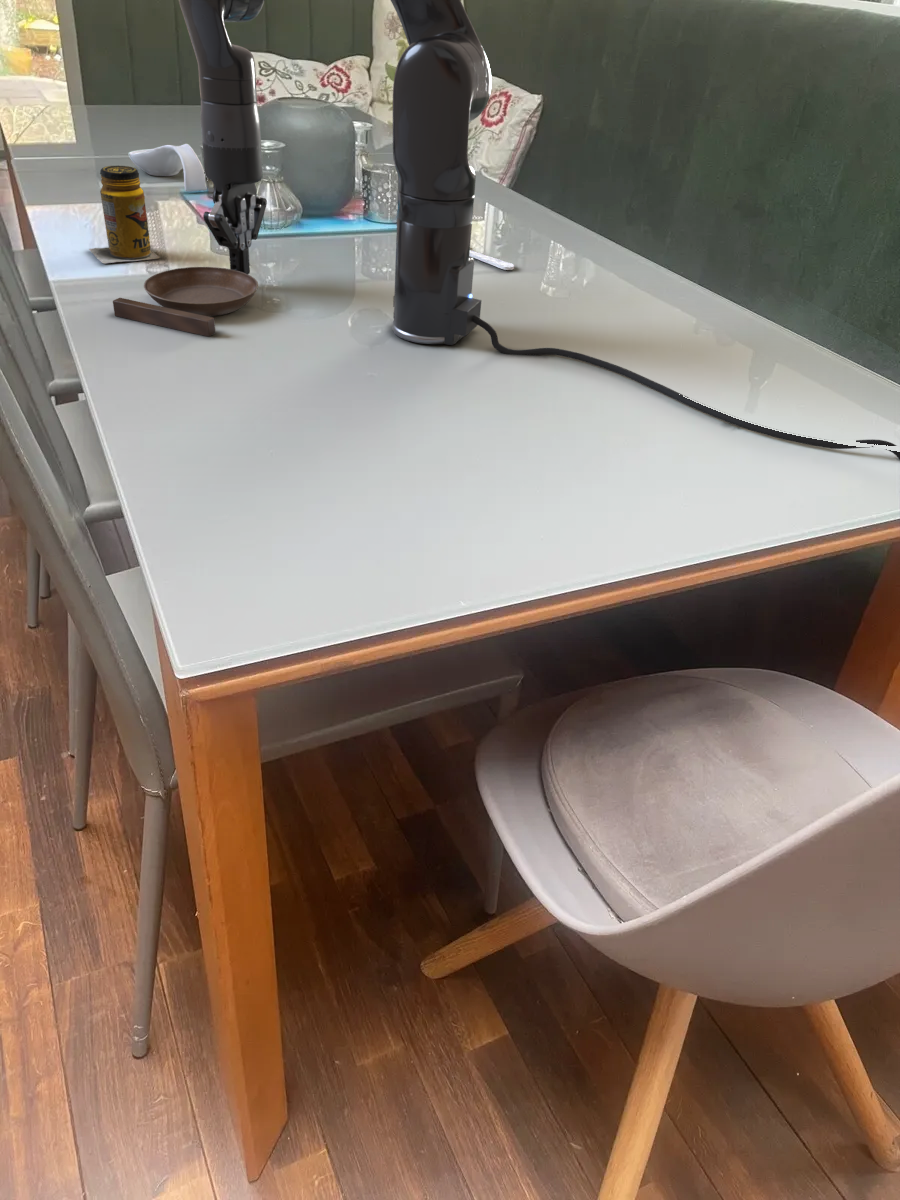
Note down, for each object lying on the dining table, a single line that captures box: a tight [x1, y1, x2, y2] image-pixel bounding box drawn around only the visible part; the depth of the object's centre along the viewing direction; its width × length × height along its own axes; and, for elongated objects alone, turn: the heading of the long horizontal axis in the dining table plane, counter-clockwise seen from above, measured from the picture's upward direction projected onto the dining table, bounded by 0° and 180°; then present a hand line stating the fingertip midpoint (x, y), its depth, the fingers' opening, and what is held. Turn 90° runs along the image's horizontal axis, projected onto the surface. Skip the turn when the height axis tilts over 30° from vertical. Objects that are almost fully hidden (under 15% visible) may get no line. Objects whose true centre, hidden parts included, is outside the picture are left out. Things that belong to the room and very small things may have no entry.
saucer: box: [143, 266, 259, 317], centre depth 119 cm, size 15×15×3 cm
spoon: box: [469, 249, 515, 271], centre depth 147 cm, size 5×18×1 cm, turn 44°
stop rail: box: [112, 297, 216, 337], centre depth 113 cm, size 14×2×2 cm, turn 69°
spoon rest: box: [128, 143, 208, 193], centre depth 173 cm, size 24×12×7 cm, turn 37°
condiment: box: [88, 164, 161, 264], centre depth 131 cm, size 7×8×12 cm
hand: (240, 274), depth 126 cm, fingers closed
